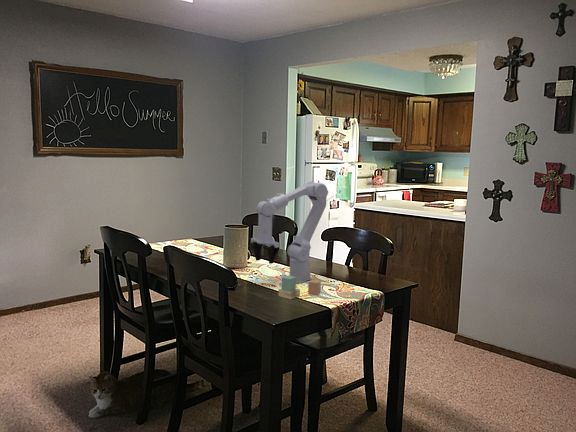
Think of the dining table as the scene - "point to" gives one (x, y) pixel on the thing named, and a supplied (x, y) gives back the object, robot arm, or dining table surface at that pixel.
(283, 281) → the teal block
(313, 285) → the terracotta block
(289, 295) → the maple block
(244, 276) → the dining table surface
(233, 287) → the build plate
